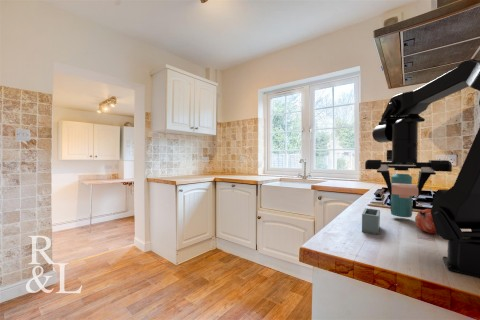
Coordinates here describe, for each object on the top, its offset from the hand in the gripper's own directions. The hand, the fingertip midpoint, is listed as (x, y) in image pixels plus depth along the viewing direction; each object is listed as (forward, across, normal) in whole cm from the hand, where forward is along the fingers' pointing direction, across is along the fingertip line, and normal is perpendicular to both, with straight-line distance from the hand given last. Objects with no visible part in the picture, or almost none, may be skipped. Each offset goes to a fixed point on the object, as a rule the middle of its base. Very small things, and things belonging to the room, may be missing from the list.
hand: (403, 195), depth 62 cm
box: (+12, +8, -3) cm, 15 cm away
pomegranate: (+12, -7, -10) cm, 17 cm away
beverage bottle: (+12, 0, -22) cm, 25 cm away
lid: (-1, 0, 0) cm, 1 cm away
